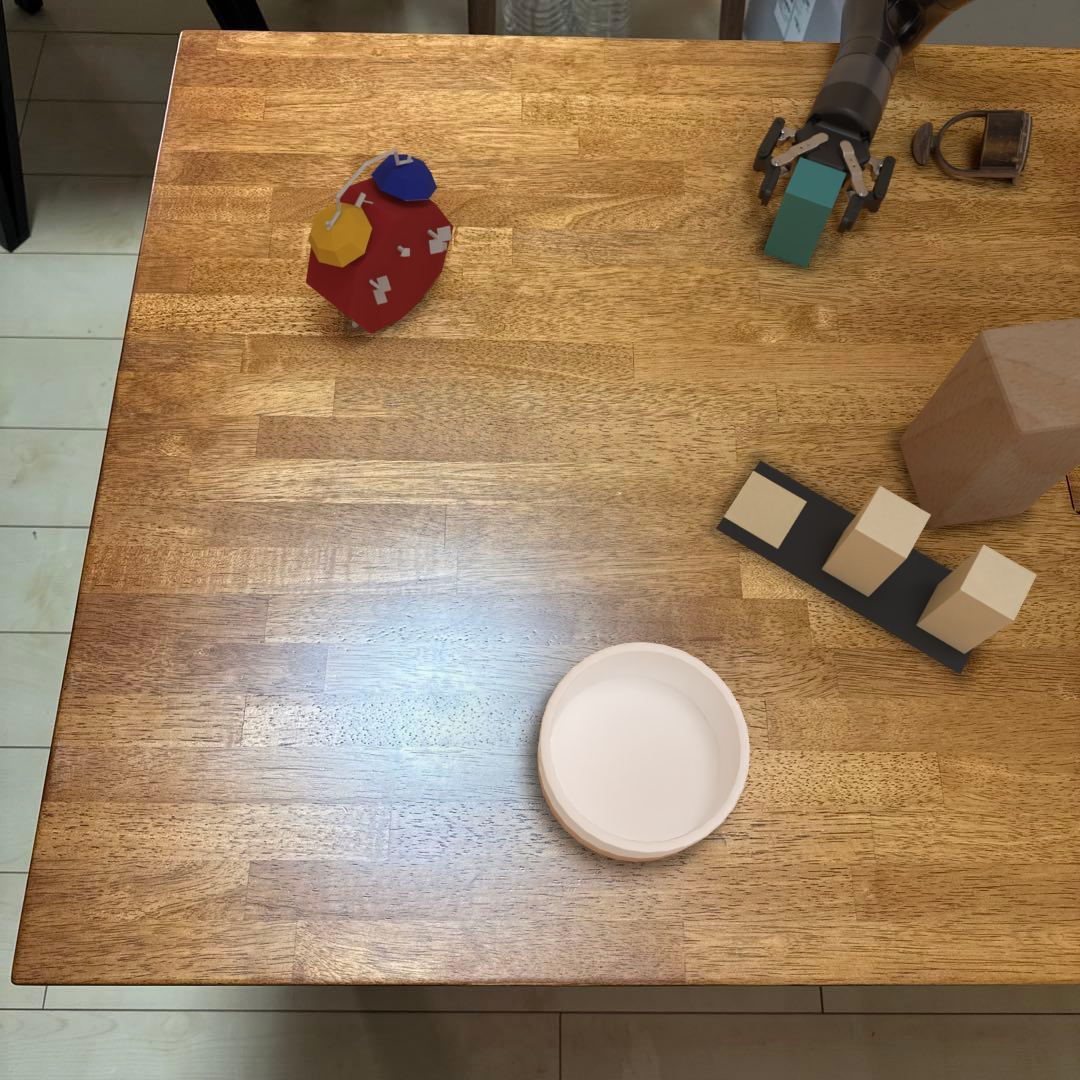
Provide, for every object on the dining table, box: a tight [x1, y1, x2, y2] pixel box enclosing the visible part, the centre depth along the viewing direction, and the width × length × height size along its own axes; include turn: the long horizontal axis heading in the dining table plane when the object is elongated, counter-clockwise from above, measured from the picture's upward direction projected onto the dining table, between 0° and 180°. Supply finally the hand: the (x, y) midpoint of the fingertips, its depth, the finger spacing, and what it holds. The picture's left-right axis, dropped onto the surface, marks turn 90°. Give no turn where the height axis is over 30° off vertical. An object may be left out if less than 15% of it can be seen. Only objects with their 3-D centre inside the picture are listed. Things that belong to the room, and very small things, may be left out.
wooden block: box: [898, 317, 1080, 528], centre depth 93 cm, size 10×10×20 cm
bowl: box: [536, 641, 751, 863], centre depth 86 cm, size 17×17×8 cm
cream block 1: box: [822, 485, 931, 597], centre depth 93 cm, size 5×5×10 cm
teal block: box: [762, 157, 846, 269], centre depth 108 cm, size 5×5×10 cm
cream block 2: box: [916, 544, 1037, 654], centre depth 91 cm, size 5×5×10 cm
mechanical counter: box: [912, 109, 1034, 186], centre depth 115 cm, size 7×13×10 cm
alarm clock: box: [305, 147, 454, 335], centre depth 99 cm, size 15×9×20 cm, turn 139°
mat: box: [715, 460, 975, 675], centre depth 98 cm, size 26×9×1 cm, turn 57°
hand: (803, 214), depth 107 cm, fingers open, 8 cm apart
